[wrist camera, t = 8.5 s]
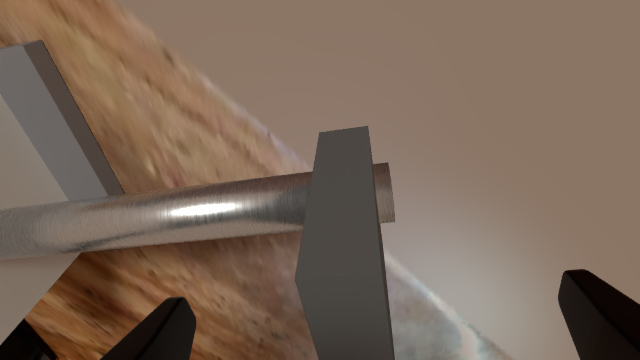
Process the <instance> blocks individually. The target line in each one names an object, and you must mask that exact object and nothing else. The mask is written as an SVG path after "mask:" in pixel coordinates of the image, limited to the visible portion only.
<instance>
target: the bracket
mask: <svg viewBox="0 0 640 360" xmlns="http://www.w3.org/2000/svg"><path fill="white" fill-rule="evenodd" d="M122 194H125V193H124V192H123V190H122V188H121V186H120V184H119V182H118V180H117V179H116V177H115V175H114V173H113V171H112V169H111V168H110V166H109V164H108V162H107V160H106V158H105V156H104V155H103V153H102V151H101V149H100V147H99V145H98V144H97V142H96V140H95V138H94V136H93V134H92V132H91V131H90V129H89V127H88V125H87V123H86V121H85V120H84V118H83V116H82V114H81V112H80V110H79V109H78V107H77V105H76V103H75V101H74V99H73V97H72V96H71V94H70V92H69V90H68V88H67V86H66V85H65V83H64V81H63V79H62V77H61V75H60V73H59V72H58V70H57V68H56V66H55V64H54V62H53V61H52V59H51V57H50V55H49V53H48V51H47V49H46V48H45V46H44V44H43V42H42V40H38V41H33V42H28V43H23V44H18V45H12V46H7V47H2V48H0V209H5V208H14V207H22V206H30V205H39V204H47V203H55V202H63V201H72V200H80V199H88V198H97V197H105V196H113V195H122ZM130 248H136V247H130ZM120 249H126V248H120ZM110 250H116V249H110ZM99 251H105V250H99ZM89 252H95V251H89ZM80 253H84V252H78V253H68V254H58V255H47V256H37V257H26V258H16V259H6V260H0V345H1V344H2V343H3V341H4V340H5V339H6V338H7V337H8V336H9V335H10V333H11V332H12V331H13V330H14V329H15V328H16V327H17V325H18V324H19V323H20V322H21V321H22V320H23V319H24V317H25V316H26V315H27V314H28V313H29V312H30V311H31V309H32V308H33V307H34V306H35V305H36V304H37V302H38V301H39V300H40V299H41V298H42V297H43V296H44V294H45V293H46V292H47V291H48V290H49V289H50V288H51V286H52V285H53V284H54V283H55V282H56V281H57V280H58V278H59V277H60V276H61V275H62V274H63V273H64V272H65V270H66V269H67V268H68V267H69V266H70V265H71V263H72V262H73V261H74V260H75V259H76V258H77V257H78V255H79V254H80Z"/></svg>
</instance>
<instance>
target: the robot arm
mask: <svg viewBox="0 0 640 360" xmlns="http://www.w3.org/2000/svg"><path fill="white" fill-rule="evenodd" d="M558 301H559V305H560V308H561V311H562V314H563V316H564V319H565V321H566V324H567V326H568V329H569V332H570V334H571V337H572V339H573V342H574V345H575V347H576V350H577V352H578V355H579V357H580V360H640V304H638V303H637V302H635V301H634V300H632V299H631V298H629V297H628V296H626V295H625V294H623V293H622V292H620V291H618V290H617V289H615V288H614V287H612V286H611V285H609V284H608V283H606V282H605V281H603V280H602V279H600V278H598V277H597V276H596V275H594V274H593V273H591V272H589V271H587V270H585V269H579V270H578V269H577V270H567V271H565V272H564V273H563V275H562V280H561V284H560V289H559V293H558ZM195 329H196V317H195V315H194V313H193V311H192V309H191V307H190V305H189V304H188V302H187V300H186V299H185V298H184V297H170V298H167V299H166V300H165V301H164V302H162V303H161V304H160V305H159V306H158V307H157V308H156V309H155V310H154V311H153V312H151V313H150V314H149V315H148V316H147V317H146V318H145V319H144V320H143V321H142V322H140V323H139V324H138V325H137V326H136V327H135V328H134V329H133V330H132V331H131V332H129V333H128V334H127V335H126V336H125V337H124V338H123V339H122V340H121V341H120V342H119V343H117V344H116V345H115V346H114V347H113V348H112V349H111V350H110V351H109V352H108V353H106V354H105V355H104V356H103V357H102V358H101V359H100V360H189V359H190V354H191V349H192V344H193V339H194V334H195ZM0 360H56V357H55V356H54V355H53V354H52V353H51V352H50V351H49V349H48V348H47V347H46V346H45V345H44V344H43V343H42V342H41V341H40V340H39V338H38V337H37V336H36V335H35V334H34V333H33V332H32V331H31V330H30V328H29V327H28V326H27V325H26V324H25V323H24V322H23V321H21V322H20V323H19V324H18V325H17V327H16V328H15V329H14V330H13V331H12V332H11V333H10V335H9V336H8V337H7V338H6V339H5V340H4V341H3V343H2V344H1V345H0Z"/></svg>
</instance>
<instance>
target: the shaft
mask: <svg viewBox="0 0 640 360" xmlns="http://www.w3.org/2000/svg"><path fill="white" fill-rule="evenodd" d="M390 222H395V213H394V203H393V193H392V186H391V178H390V170H389V165H388V162H387V163H379V164H373V163H372V155H371V146H370V138H369V131H368V126H364V127H356V128H349V129H342V130H334V131H327V132H320V133H319V138H318V143H317V150H316V156H315V161H314V167H313V171H312V172H304V173H296V174H288V175H279V176H271V177H263V178H254V179H246V180H238V181H229V182H221V183H213V184H205V185H196V186H188V187H180V188H171V189H163V190H155V191H146V192H138V193H130V194H122V195H113V196H105V197H97V198H88V199H80V200H72V201H63V202H55V203H47V204H39V205H30V206H22V207H14V208H5V209H0V260H6V259H16V258H26V257H37V256H47V255H58V254H68V253H78V252H89V251H99V250H110V249H120V248H130V247H141V246H151V245H162V244H172V243H182V242H193V241H203V240H214V239H224V238H234V237H245V236H255V235H266V234H276V233H286V232H297V231H303V233H302V239H301V245H300V251H299V257H298V263H297V269H296V275H295V282H296V285H297V288H298V292H299V295H300V298H301V301H302V305H303V308H304V311H305V315H306V318H307V321H308V325H309V328H310V331H311V335H312V338H313V341H314V345H315V348H316V351H317V354H318V358H319V360H395V357H394V347H393V338H392V328H391V319H390V309H389V300H388V290H387V281H386V271H385V262H384V252H383V244H382V235H381V227H380V223H390Z"/></svg>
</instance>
